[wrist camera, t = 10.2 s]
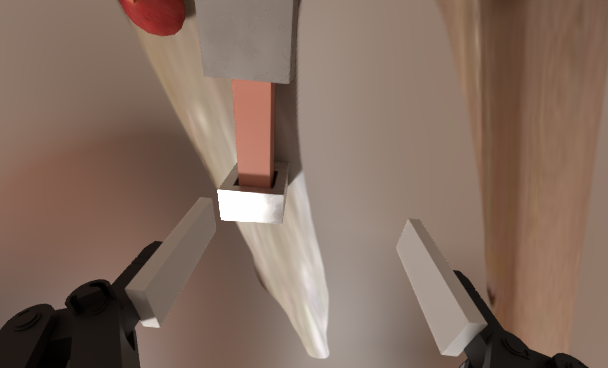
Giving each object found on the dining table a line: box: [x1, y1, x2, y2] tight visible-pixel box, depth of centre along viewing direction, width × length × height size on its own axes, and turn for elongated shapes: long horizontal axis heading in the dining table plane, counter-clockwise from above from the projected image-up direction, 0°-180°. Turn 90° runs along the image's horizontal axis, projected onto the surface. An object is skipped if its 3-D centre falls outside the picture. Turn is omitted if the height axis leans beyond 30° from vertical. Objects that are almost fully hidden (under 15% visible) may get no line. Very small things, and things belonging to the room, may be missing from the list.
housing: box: [195, 0, 299, 84], centre depth 23 cm, size 9×8×10 cm
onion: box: [119, 0, 185, 36], centre depth 23 cm, size 6×6×8 cm
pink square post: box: [232, 79, 276, 189], centre depth 28 cm, size 18×4×4 cm, turn 175°
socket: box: [218, 161, 289, 224], centre depth 32 cm, size 4×8×10 cm, turn 85°
